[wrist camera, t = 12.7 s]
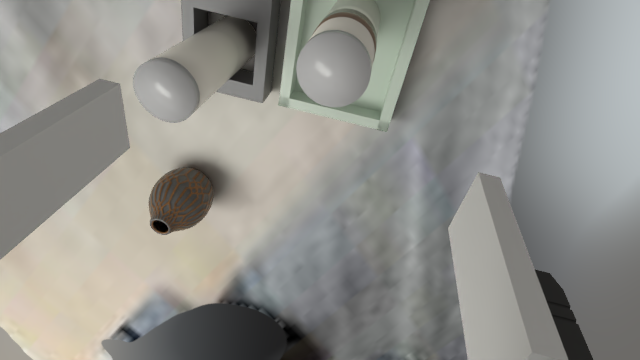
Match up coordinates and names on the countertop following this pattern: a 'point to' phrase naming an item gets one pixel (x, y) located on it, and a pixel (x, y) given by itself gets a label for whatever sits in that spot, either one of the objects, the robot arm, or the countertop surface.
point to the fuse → (194, 69)
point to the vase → (179, 200)
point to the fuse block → (262, 7)
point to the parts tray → (387, 70)
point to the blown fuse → (340, 54)
